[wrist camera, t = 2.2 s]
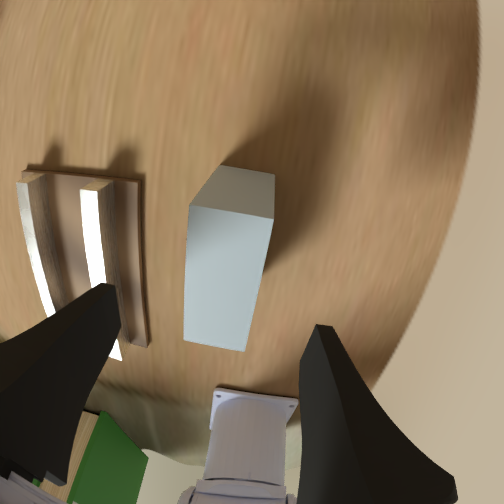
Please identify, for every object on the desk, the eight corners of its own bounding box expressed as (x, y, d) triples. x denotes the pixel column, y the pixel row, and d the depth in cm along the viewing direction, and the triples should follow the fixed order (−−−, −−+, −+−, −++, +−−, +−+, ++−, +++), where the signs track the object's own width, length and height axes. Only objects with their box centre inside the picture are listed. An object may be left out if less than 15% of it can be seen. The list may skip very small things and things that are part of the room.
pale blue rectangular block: (254, 280, 19) (245, 352, 14) (206, 271, 19) (182, 339, 14) (275, 174, 15) (275, 219, 10) (218, 164, 15) (187, 204, 10)
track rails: (130, 343, 23) (122, 360, 21) (65, 322, 23) (55, 337, 21) (114, 180, 16) (97, 191, 14) (34, 172, 15) (16, 182, 14)
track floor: (148, 343, 23) (147, 348, 23) (56, 314, 23) (53, 318, 22) (141, 180, 16) (137, 182, 16) (25, 169, 16) (21, 171, 15)
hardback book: (68, 400, 33) (16, 526, 12) (106, 412, 32) (57, 553, 12) (114, 448, 42) (84, 548, 21) (148, 457, 41) (121, 564, 20)
